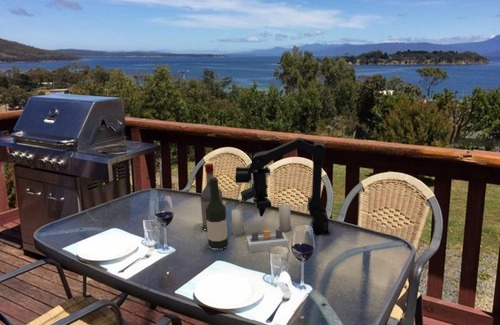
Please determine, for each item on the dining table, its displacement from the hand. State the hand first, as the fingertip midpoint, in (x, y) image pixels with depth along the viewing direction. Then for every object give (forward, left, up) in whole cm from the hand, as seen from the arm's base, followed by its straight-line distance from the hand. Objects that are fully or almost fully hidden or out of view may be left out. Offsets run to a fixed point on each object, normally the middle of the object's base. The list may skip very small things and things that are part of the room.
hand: (261, 216), depth 186 cm
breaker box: (0, +14, -8) cm, 16 cm away
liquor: (+21, -10, -8) cm, 25 cm away
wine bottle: (+20, +10, -8) cm, 23 cm away
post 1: (+10, 0, -8) cm, 13 cm away
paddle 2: (-5, +14, -4) cm, 15 cm away
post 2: (-11, 0, -8) cm, 13 cm away
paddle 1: (+5, +14, -4) cm, 15 cm away
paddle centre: (0, +14, -4) cm, 14 cm away
